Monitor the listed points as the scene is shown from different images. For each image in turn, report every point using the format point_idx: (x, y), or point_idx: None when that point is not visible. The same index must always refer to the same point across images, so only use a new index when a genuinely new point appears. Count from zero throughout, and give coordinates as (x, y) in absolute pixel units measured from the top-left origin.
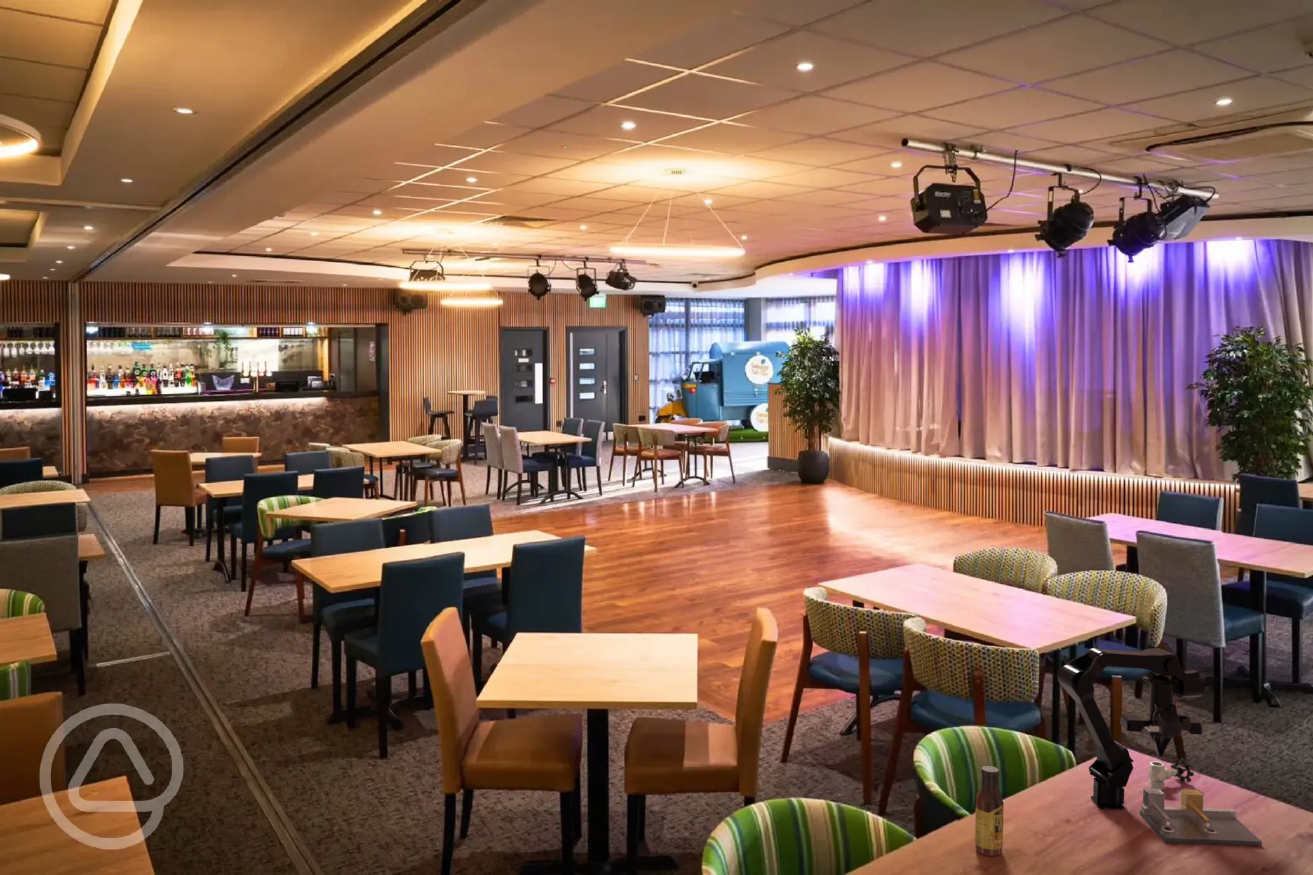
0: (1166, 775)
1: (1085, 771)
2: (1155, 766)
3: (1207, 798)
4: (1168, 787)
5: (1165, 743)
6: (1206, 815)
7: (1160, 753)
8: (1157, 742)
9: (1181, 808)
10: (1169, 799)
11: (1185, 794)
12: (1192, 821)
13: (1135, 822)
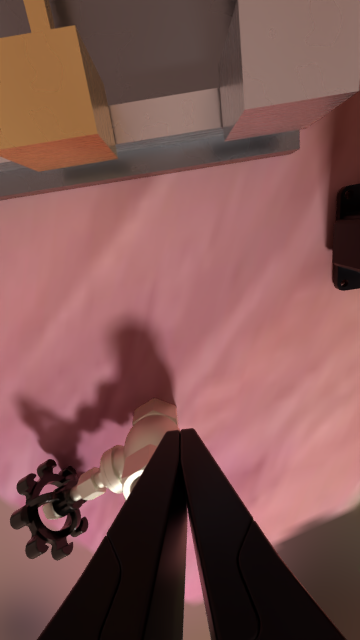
0: (119, 452)
1: (345, 474)
2: None
3: (4, 365)
4: (119, 420)
5: (126, 566)
6: None
7: (184, 444)
8: (256, 565)
9: (122, 124)
10: (136, 328)
11: (82, 54)
12: (90, 50)
13: None
